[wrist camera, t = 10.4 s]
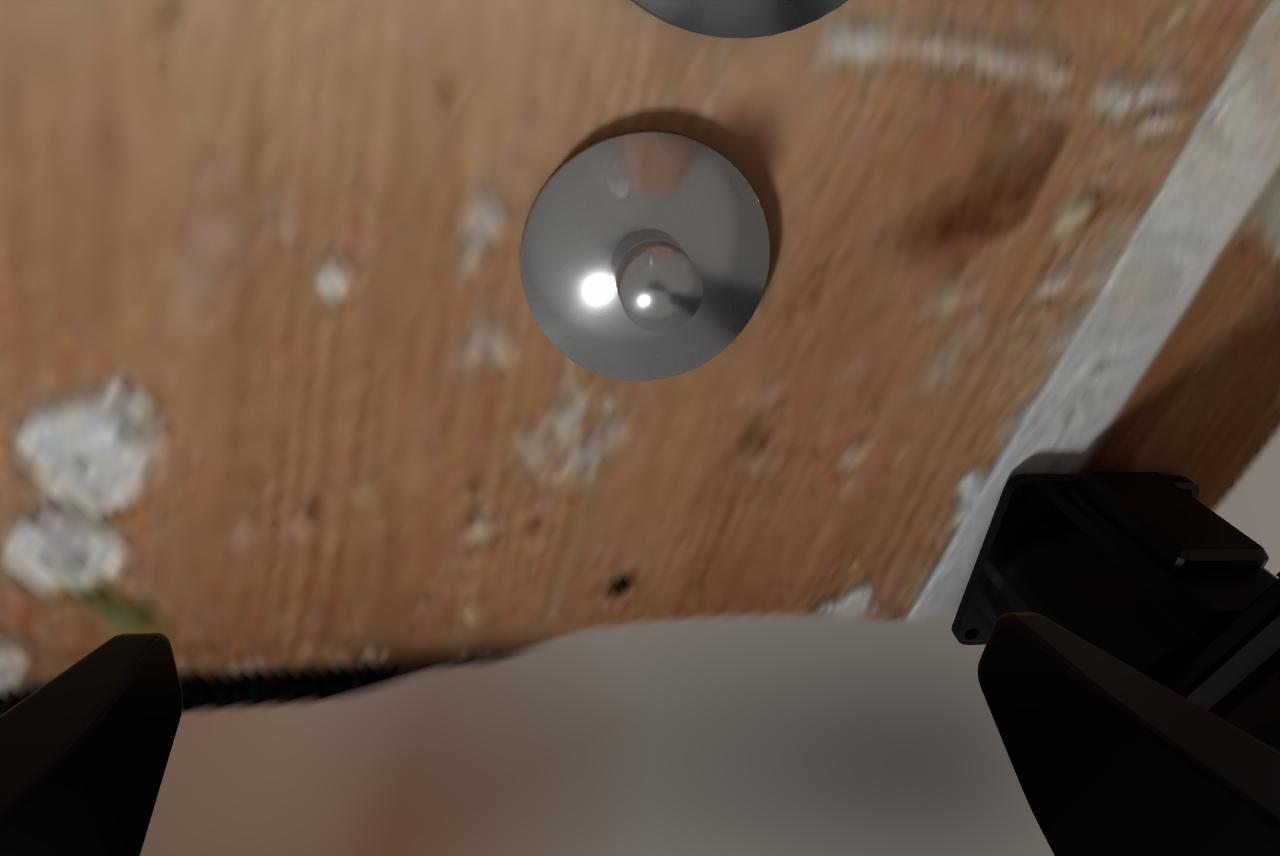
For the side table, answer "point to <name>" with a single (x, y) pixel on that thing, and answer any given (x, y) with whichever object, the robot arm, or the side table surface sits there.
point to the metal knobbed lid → (644, 255)
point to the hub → (738, 15)
